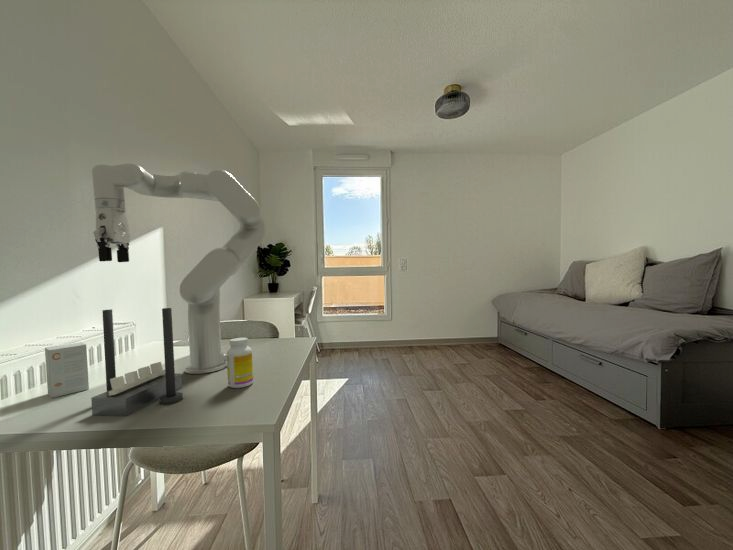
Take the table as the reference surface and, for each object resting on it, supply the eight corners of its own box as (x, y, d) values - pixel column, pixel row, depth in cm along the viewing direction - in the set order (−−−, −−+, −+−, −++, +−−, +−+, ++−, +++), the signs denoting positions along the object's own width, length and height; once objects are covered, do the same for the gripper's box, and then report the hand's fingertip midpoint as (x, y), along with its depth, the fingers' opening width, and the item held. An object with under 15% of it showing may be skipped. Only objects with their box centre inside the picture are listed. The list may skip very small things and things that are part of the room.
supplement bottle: (258, 382, 96) (256, 337, 96) (240, 390, 90) (238, 342, 90) (241, 379, 99) (238, 336, 99) (222, 387, 93) (220, 341, 93)
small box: (84, 385, 100) (82, 341, 99) (89, 389, 95) (86, 344, 95) (46, 393, 93) (44, 347, 93) (50, 398, 89) (47, 350, 89)
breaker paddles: (160, 374, 93) (157, 362, 94) (167, 372, 93) (164, 360, 93) (107, 396, 78) (104, 381, 78) (116, 394, 77) (113, 379, 77)
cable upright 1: (123, 394, 90) (119, 308, 90) (124, 399, 86) (119, 309, 86) (100, 399, 87) (95, 310, 87) (99, 405, 83) (94, 311, 83)
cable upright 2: (181, 395, 88) (176, 306, 87) (184, 400, 84) (179, 308, 83) (158, 400, 85) (154, 308, 84) (160, 406, 81) (155, 310, 80)
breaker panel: (153, 387, 95) (152, 373, 95) (181, 387, 94) (181, 373, 94) (92, 415, 77) (91, 397, 77) (126, 416, 76) (125, 398, 76)
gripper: (107, 200, 97) (112, 259, 97) (137, 211, 114) (141, 261, 114) (78, 201, 95) (83, 261, 96) (112, 211, 112) (117, 263, 113)
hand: (115, 261), depth 105 cm, fingers open, 9 cm apart
